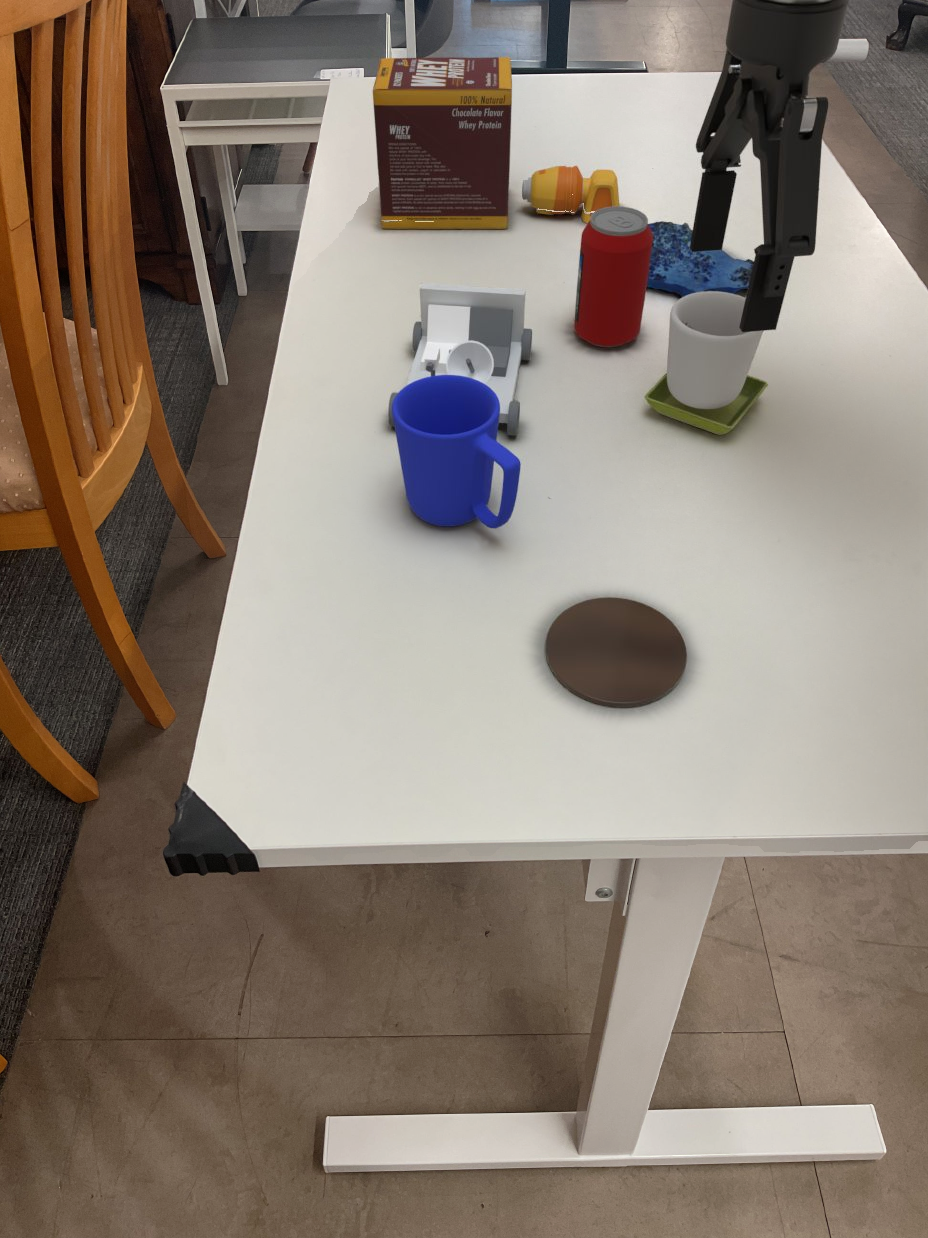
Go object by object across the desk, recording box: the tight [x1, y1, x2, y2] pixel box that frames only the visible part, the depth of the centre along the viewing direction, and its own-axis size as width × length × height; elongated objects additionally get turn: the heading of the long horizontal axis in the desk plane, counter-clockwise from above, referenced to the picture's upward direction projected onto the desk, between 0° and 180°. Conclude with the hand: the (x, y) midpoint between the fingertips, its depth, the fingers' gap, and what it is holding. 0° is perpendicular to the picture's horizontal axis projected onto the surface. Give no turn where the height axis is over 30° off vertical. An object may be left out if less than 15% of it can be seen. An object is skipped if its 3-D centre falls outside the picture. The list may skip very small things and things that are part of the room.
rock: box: [646, 220, 754, 298], centre depth 104 cm, size 15×17×2 cm
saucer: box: [644, 372, 769, 436], centre depth 86 cm, size 9×9×2 cm
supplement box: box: [372, 56, 513, 230], centre depth 110 cm, size 10×15×16 cm
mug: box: [392, 375, 522, 529], centre depth 74 cm, size 8×12×10 cm
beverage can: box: [573, 205, 653, 348], centre depth 92 cm, size 7×7×12 cm
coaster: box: [545, 596, 688, 708], centre depth 67 cm, size 10×10×1 cm
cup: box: [666, 290, 764, 409], centre depth 83 cm, size 11×8×8 cm
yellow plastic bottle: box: [521, 165, 620, 224], centre depth 113 cm, size 5×6×12 cm
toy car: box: [387, 283, 533, 436], centre depth 85 cm, size 18×10×12 cm
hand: (729, 286), depth 78 cm, fingers open, 13 cm apart
